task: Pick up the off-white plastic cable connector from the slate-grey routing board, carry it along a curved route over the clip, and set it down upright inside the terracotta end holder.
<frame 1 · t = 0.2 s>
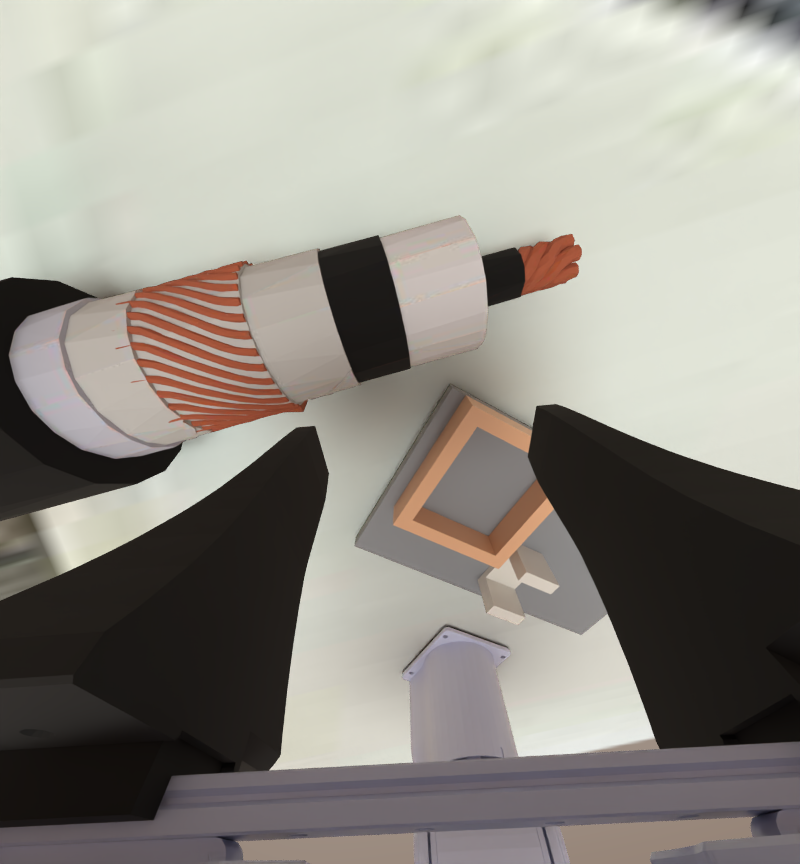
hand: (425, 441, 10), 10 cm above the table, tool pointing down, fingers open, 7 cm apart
route board: (525, 528, 25), on the table
clip: (505, 557, 26), resting on route board
end holder: (477, 474, 23), resting on route board
cable: (271, 340, 19), on the table
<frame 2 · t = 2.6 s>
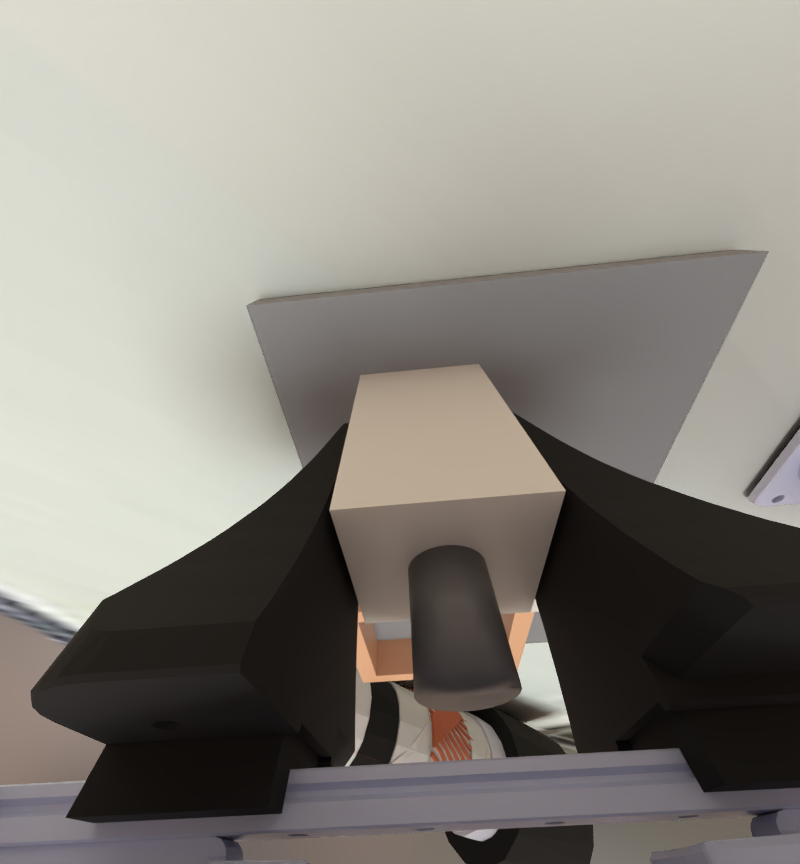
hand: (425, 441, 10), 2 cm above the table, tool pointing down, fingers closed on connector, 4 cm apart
route board: (474, 526, 16), on the table
end holder: (431, 595, 20), resting on route board
cable: (418, 684, 29), on the table
connector: (422, 420, 11), point 1 cm above the table, touching gripper, route board
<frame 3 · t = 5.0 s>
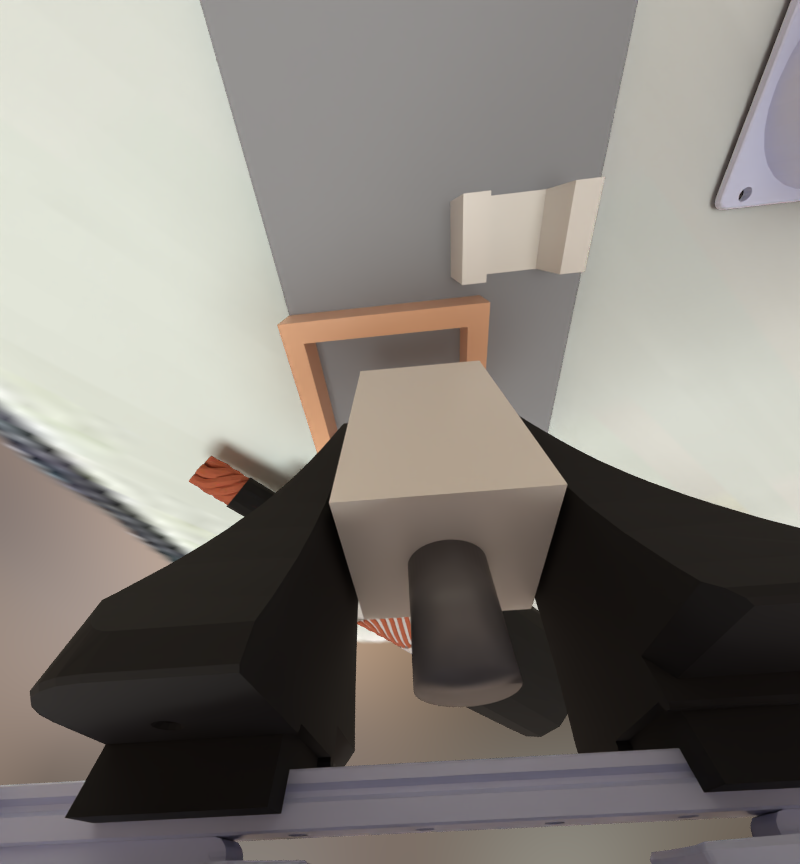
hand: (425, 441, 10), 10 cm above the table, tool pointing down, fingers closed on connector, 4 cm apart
route board: (427, 254, 15), on the table
clip: (497, 235, 15), resting on route board
end holder: (393, 378, 19), resting on route board
cable: (396, 541, 28), on the table
connector: (422, 417, 11), point 8 cm above the table, touching gripper
when the fingers open (4 cm above the table, at t = 6.6 s): connector drops 1 cm, resting on route board.
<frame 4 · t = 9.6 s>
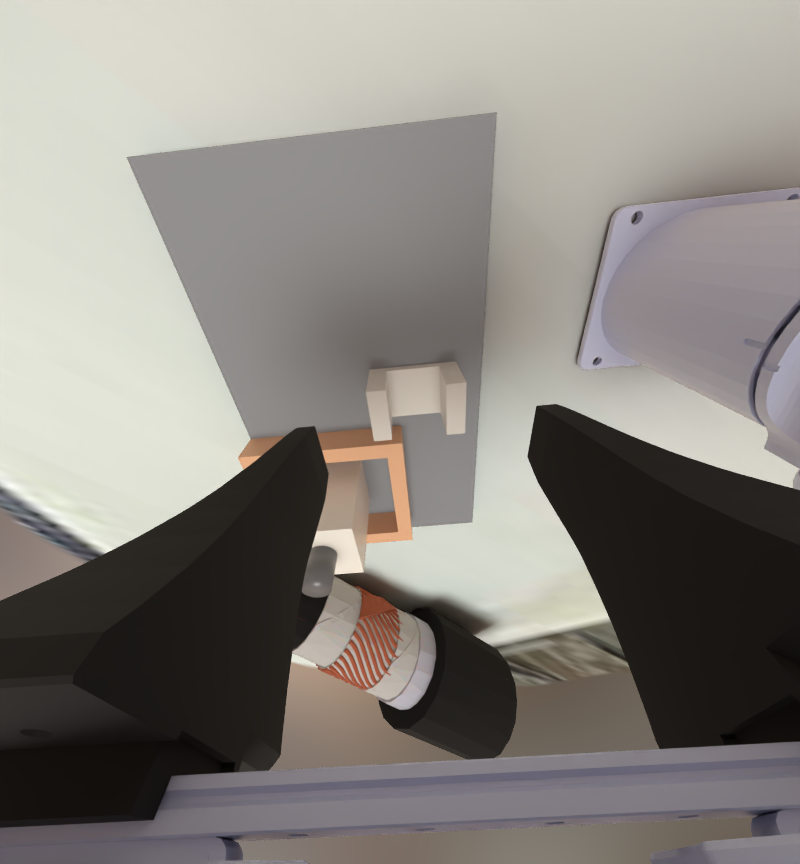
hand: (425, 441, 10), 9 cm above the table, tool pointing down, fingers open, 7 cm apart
route board: (359, 394, 19), on the table
clip: (413, 382, 19), resting on route board
end holder: (341, 474, 23), resting on route board
cable: (361, 588, 32), on the table
connector: (338, 482, 22), point 1 cm above the table, touching route board
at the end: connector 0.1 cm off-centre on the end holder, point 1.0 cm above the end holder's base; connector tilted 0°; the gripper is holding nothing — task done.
